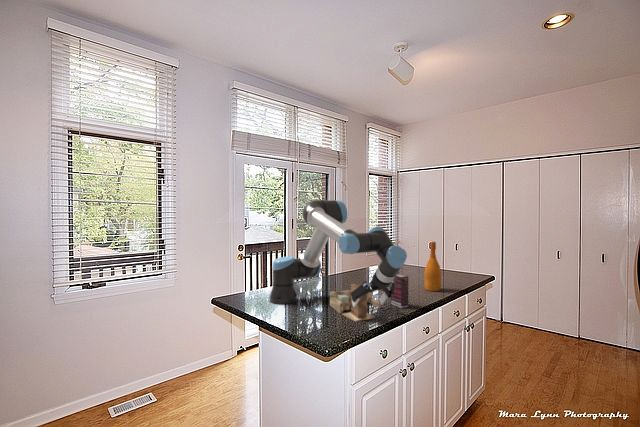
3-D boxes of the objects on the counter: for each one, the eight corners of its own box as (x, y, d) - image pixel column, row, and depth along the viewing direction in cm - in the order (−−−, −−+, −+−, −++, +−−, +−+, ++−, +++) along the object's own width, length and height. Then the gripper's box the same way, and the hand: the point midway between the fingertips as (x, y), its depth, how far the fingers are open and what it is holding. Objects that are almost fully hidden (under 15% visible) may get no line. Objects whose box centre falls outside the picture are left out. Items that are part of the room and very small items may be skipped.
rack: (339, 313, 164) (340, 299, 164) (329, 305, 178) (329, 291, 177) (384, 308, 172) (384, 295, 171) (371, 301, 185) (371, 288, 185)
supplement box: (408, 307, 175) (409, 276, 175) (401, 308, 173) (401, 277, 172) (397, 302, 183) (397, 273, 182) (390, 304, 180) (390, 274, 180)
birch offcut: (341, 311, 168) (341, 304, 168) (336, 307, 175) (336, 300, 175) (349, 310, 170) (349, 303, 169) (344, 306, 176) (344, 299, 176)
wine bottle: (442, 289, 213) (443, 241, 212) (438, 292, 204) (439, 242, 204) (426, 287, 218) (427, 240, 217) (422, 290, 210) (422, 241, 209)
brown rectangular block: (357, 318, 155) (357, 287, 155) (350, 312, 163) (350, 283, 163) (366, 317, 157) (366, 287, 156) (359, 312, 164) (359, 283, 164)
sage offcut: (341, 303, 169) (341, 297, 169) (337, 300, 174) (337, 295, 174) (348, 302, 171) (348, 296, 170) (344, 300, 175) (344, 294, 175)
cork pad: (355, 321, 152) (355, 320, 152) (342, 314, 162) (342, 313, 162) (375, 317, 158) (375, 316, 158) (361, 311, 167) (361, 310, 167)
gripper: (358, 286, 130) (343, 313, 145) (414, 281, 138) (394, 308, 153) (353, 269, 135) (339, 297, 150) (407, 266, 143) (389, 293, 158)
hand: (367, 303), depth 151 cm, fingers open, 13 cm apart
